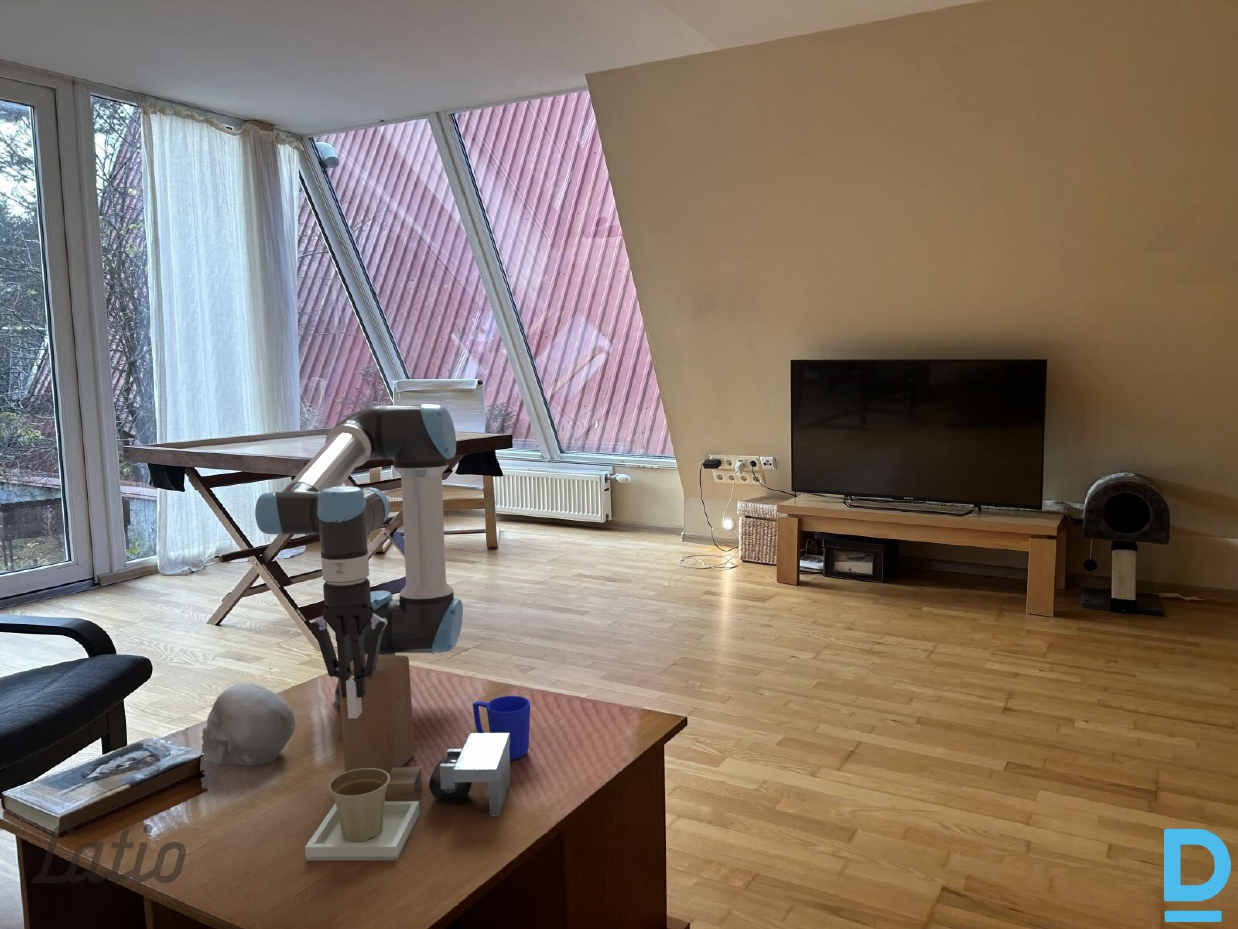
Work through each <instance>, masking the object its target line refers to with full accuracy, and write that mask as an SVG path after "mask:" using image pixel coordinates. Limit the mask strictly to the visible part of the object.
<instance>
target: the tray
mask: <svg viewBox="0 0 1238 929" xmlns="http://www.w3.org/2000/svg"><path fill="white" fill-rule="evenodd" d="M420 814H421V806H420V800H418V801H385V803H384V814H383V829H382V831H381V833H380V834H379V835H377V836H376V837H370V838H369V839H368V840H366V841H349V840H347V839H346V838H345V837H344V836H343V835H342V830H341V825H340V820H339V816H338V812H337V807H336V803H334V804H333V805H332V807H331V809H330V810H329V812H328V813H327V815H326V816H325V817H324V819H323V820H322V822H321V823H320V825H319V826H318V828H317V829H316V831H315V832H314V833H313V835H312V837H311V838H310V839H309V841H308V842H307V843H306V845H305V847H304V848H305V849H304V850H305V851H304V852H305V861H306V862H307V861H311V862H312V861H315V862H316V861H329V862H330V861H334V862H335V861H338V862H339V861H398V859H399V857H400V855H401V853H402V851H403V849H404V847H405V845H406V843H407V840H408V839H409V837H410V835H411V833H412V830H413V829H414V826H415V825H416V822H417V820H418V818H419V817H420V816H421V815H420Z"/></svg>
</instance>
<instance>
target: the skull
mask: <svg viewBox="0 0 1238 929" xmlns="http://www.w3.org/2000/svg"><path fill="white" fill-rule="evenodd" d="M212 706H213V707H212V708H211V709H210V712H209V714H208V715H207V720H206V725H205V726H204V727H203V728H202V736H201V739H202V745H201V753H204V758H205V759H206V760H207V761H206V760H205V759H204V758H203V759H204V760H205V761H206V762H208V761H209V762H208V763H211V764H214V763H215V764H214V765H216V766H225V765H240V766H250V767H252V766H253V767H256V766H262V765H266V764H269V763H271V762H273V761H275V760H276V759H277V758H278V756H279V755H280V754H281V752H282V750H283V749H284V748H285V747H286V744H287V743H289V740H290V739H291V737H292V735H293V734H294V732H295V728H296V721H295V720H296V719H295V715H294V712H293V710H292V707H291V705H289V703H288V702H287V701H286V700H285V699H284V697H282V696H281V695H280V694H277V693H276V692H274V691H272V690H270V689H268V688H266V687H263V686H262V685H259V684H254V683H250V682H241V683H236V684H234V685H232V686H230V687H228V688H225V690H223V691H222V692H221V693H220V694H219V695H218V696H217V699H216V700H215V702H214V703H213V705H212Z"/></svg>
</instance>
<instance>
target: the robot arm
mask: <svg viewBox="0 0 1238 929" xmlns="http://www.w3.org/2000/svg"><path fill="white" fill-rule="evenodd" d="M456 453H457V436H456V430H455V425H454V423H453V419H452V417H451V414H450V412H449V410H448V409H447V408H446V407H445V406H443V405H441V404H427V403H422V404H419V403H418V404H397V405H396V404H393V405H382V404H380V405H379V404H378V405H373V406H368V407H366V408H362V409H361V410H358V411H355V412H354V413H352V414H350V415H348V416H346V417H345V418H343V419H342V420H341V421H338V423H337V424H335V426H333V427H332V429H331V430H330V431H329V432H328V433H327V435H326V438H325V442H324V445H323V446H322V447H321V448H320V449H319V451H318V452H317V453H316V454H315V455H314V456H313V457H312V459H311V460H310V461H309V462H308V463H307V464H306V465H305V466H304V467H303V468H302V469H301V470H300V471H299V473H298V474H297V475H296V476H295V477H294V478H293V479H292V481H291V482H290V483H289V484H288V485H287V486H286V487H284V489H283V491H275V490H274V491H271V492H270V491H269V492H264V493H262V494H260V496H259V497H258V498H257V500H256V504H255V509H254V516H255V522H256V526H257V528H258V529H259V531H260V532H261V533H263V534H265V535H279V536H285V535H319V542H320V543H319V544H320V557H321V558H320V559H321V572H322V580H323V581H325V582H324V584H323V585H322V591H323V603H324V608H323V611H322V614H321V615H322V616H320V617H319V618H316V619H314V620H313V621H312V622H311V623H310V624H309V628H310V630H311V631H312V633H313V634H314V635H315V637H316V639H317V643H318V645H319V649H320V652H321V655H322V659H323V661H324V665H325V668H326V671H327V673H328V676H329V677H331V678H333V677H334V678H337V683H336V687H335V691H334V702H335V704H336V705H337V706H338V707H339V708H340V694H339V680H338V678H339V679H340V682H341V695H342V697H343V698H347V705H348V718H358V716H359V715H360V714H361V713H362V703H361V698H363V696H364V695H365V694H366V681H365V677H367V676H371V675H372V674H373V672H374V671H375V670H376V666H377V661H378V655H396V654H431V655H433V654H437V653H439V654H440V653H448V652H451V651H453V650H454V648H455V647H456V645H457V643H458V640H459V638H460V634H461V630H462V624H463V612H464V607H463V601H462V600H461V598H458V597H454V593H455V592H454V588H453V587H451V586H450V585H449V584H448V583H447V575H446V574H447V572H446V551H445V550H446V548H445V545H446V544H445V527H444V526H445V524H444V522H445V521H444V501H443V498H444V496H443V473H444V472H445V471H446V470H447V469H448V467H449V460H451V459H453V458H454V457H455V456H456ZM374 460H392V461H393V470H394V471H396V472H397V473H398V474H399V475H400V477H401V478H400V479H401V499H402V500H401V501H402V502H401V503H402V521H403V523H402V525H403V541H404V542H403V545H404V563H405V564H404V567H405V586H404V587H403V588H402V589H401V591H400V592H399V597H398V598H399V599H393V598H394V597H393V595H392V593H391V592H390V591H388V590H374V591H371V581H370V579H369V575H370V566H369V553H368V552H369V551H368V534H369V533H371V532H373V531H375V530H377V529H380V527H382V525H383V524H384V523H385V522H386V521H387V519H388V517H389V514H390V512H391V506H390V501H389V499H388V497H387V495H385V493H384V492H382V490H380V489H378V488H375V487H358V486H353V485H351V486H350V485H349V486H343V484H344V482H345V481H346V480H347V479H348V478H349V476H350V475H351V474H352V473H353V471H354V470H355V468H358V467H361V466H363V465H364V464H365V463H367V461H374ZM328 626H329V627H330V628H331V629H332V631H333V632H334V633H335V635H334V636H335V641H336V646H337V647H336V650H337V652H336V651H335V647H334V645H333V641H332V639H331V635H330V632H329V629H328ZM336 653H337V654H336ZM365 654H368V657H367V663H366V666H365ZM352 661H353V664H354V676H350V674H351V673H352V671H351V667H350V662H352Z"/></svg>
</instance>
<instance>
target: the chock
mask: <svg viewBox="0 0 1238 929" xmlns="http://www.w3.org/2000/svg"><path fill="white" fill-rule="evenodd" d="M389 776H390V781H389V783H388V785H387V790H386V792H385V801H420V800H419V799H420V797H421V795H422V793H423V778H422V776H423V775H422V766H409V767H408V766H406V767H405V766H403V767H400V768H392V770H391V772H390V774H389Z"/></svg>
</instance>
